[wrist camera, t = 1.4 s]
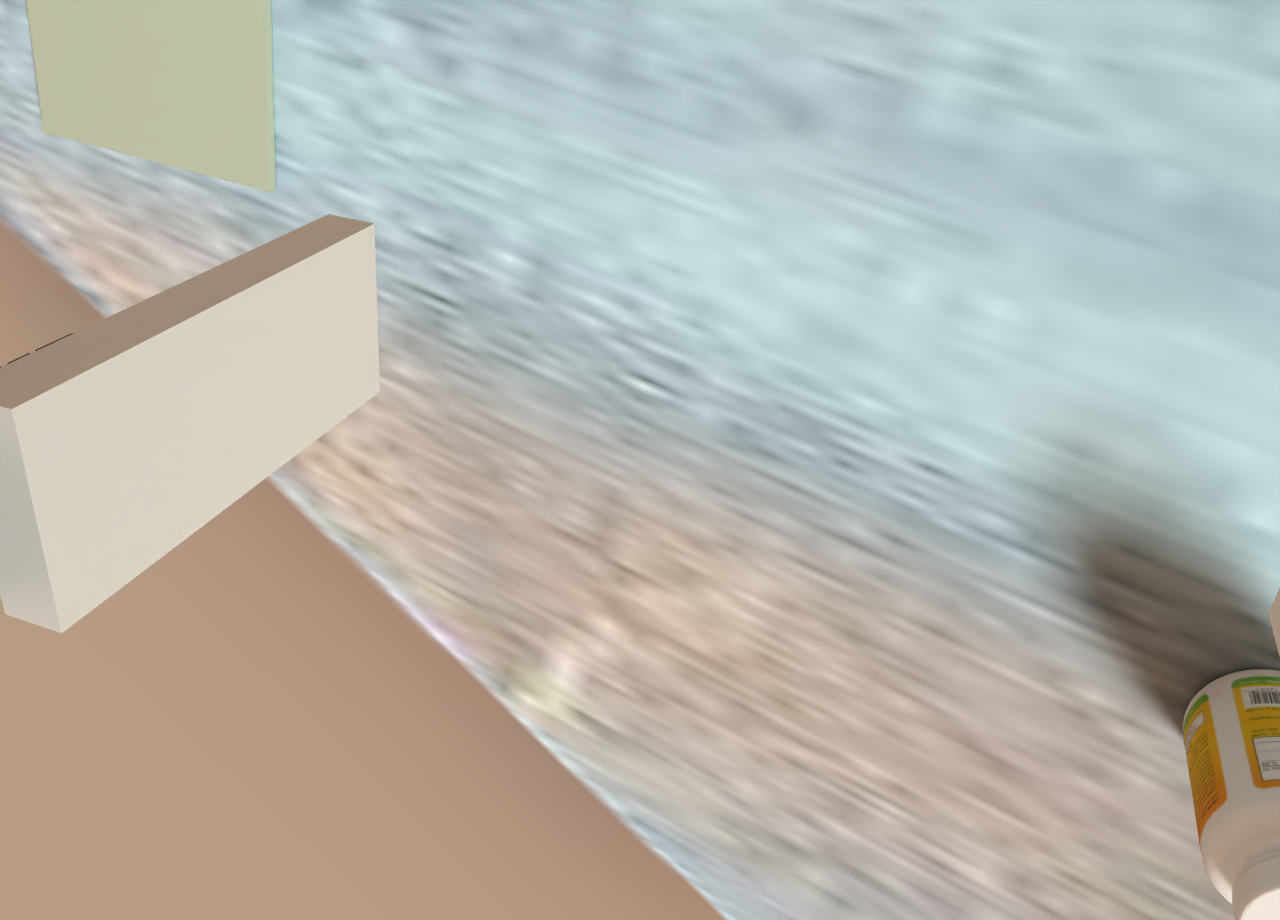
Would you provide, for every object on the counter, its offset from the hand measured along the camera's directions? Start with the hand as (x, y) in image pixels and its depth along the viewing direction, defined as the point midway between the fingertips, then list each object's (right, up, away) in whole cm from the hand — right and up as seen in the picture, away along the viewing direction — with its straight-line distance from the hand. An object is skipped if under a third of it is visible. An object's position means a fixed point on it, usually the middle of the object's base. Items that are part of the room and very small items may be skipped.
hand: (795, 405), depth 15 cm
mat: (-21, +15, +28) cm, 39 cm away
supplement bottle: (+21, -10, +26) cm, 35 cm away
